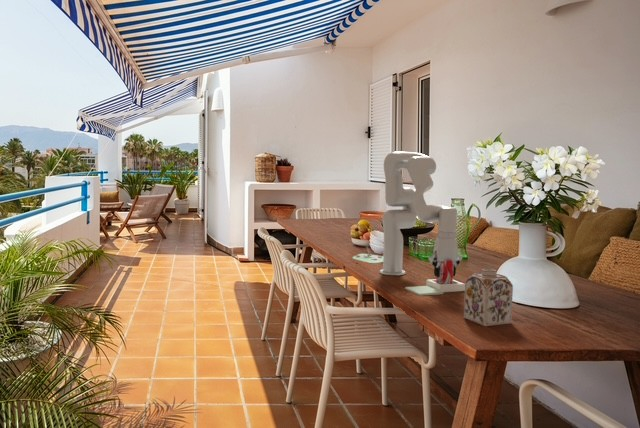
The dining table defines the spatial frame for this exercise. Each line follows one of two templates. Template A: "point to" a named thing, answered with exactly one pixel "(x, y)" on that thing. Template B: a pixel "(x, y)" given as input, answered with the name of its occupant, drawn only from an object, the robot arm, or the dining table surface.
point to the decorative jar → (488, 298)
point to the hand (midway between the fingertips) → (444, 275)
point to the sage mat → (424, 290)
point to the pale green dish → (369, 257)
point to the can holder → (446, 286)
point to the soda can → (446, 272)
